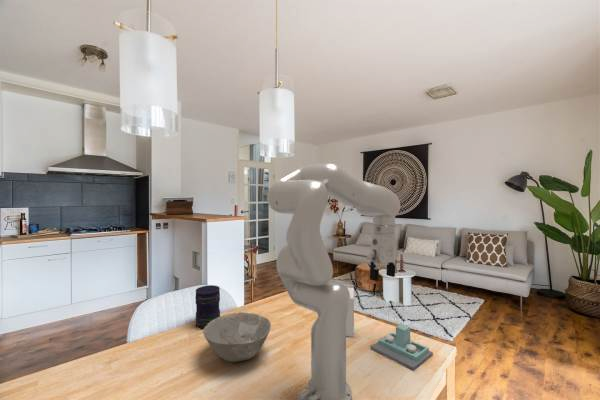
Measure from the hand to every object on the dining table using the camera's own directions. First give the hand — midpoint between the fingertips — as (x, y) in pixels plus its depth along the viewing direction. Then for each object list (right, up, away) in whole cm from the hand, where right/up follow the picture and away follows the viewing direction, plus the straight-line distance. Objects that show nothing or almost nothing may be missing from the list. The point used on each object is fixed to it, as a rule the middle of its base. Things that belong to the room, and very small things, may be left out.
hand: (382, 278), depth 99 cm
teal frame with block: (+7, -24, -1) cm, 25 cm away
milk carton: (-12, -25, +12) cm, 30 cm away
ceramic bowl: (-51, -26, -4) cm, 57 cm away
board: (+6, -25, -2) cm, 26 cm away
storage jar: (-68, -25, +19) cm, 75 cm away
